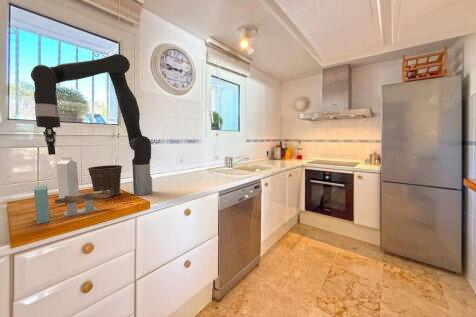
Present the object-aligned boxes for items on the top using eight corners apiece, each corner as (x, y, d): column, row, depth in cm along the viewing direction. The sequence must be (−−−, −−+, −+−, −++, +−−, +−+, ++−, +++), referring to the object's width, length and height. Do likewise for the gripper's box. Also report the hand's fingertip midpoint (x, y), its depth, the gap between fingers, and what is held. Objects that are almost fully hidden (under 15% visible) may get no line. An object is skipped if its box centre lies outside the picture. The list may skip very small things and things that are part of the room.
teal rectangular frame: (49, 215, 85) (47, 185, 84) (49, 221, 79) (47, 189, 78) (37, 217, 83) (35, 186, 82) (37, 224, 76) (34, 190, 75)
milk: (69, 199, 108) (65, 157, 105) (58, 199, 108) (55, 157, 106) (79, 196, 114) (76, 156, 111) (69, 196, 114) (66, 156, 112)
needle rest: (95, 208, 94) (94, 197, 94) (97, 210, 91) (96, 199, 90) (64, 214, 87) (63, 202, 86) (64, 216, 83) (63, 204, 83)
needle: (109, 195, 97) (109, 189, 96) (110, 196, 95) (110, 190, 94) (55, 204, 84) (54, 197, 84) (55, 205, 82) (54, 198, 82)
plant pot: (85, 200, 105) (83, 169, 104) (93, 193, 120) (92, 165, 119) (121, 197, 111) (120, 168, 110) (125, 190, 126) (124, 164, 125)
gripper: (59, 115, 84) (64, 154, 86) (59, 117, 95) (62, 152, 97) (34, 113, 79) (39, 155, 81) (36, 116, 90) (40, 153, 92)
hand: (52, 154), depth 89 cm, fingers open, 8 cm apart
